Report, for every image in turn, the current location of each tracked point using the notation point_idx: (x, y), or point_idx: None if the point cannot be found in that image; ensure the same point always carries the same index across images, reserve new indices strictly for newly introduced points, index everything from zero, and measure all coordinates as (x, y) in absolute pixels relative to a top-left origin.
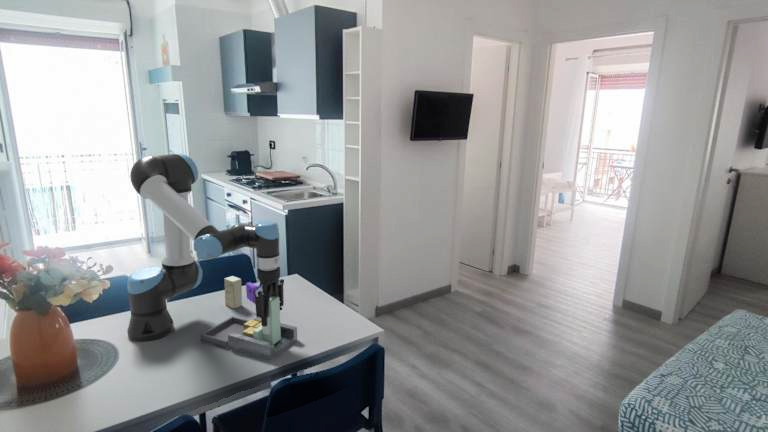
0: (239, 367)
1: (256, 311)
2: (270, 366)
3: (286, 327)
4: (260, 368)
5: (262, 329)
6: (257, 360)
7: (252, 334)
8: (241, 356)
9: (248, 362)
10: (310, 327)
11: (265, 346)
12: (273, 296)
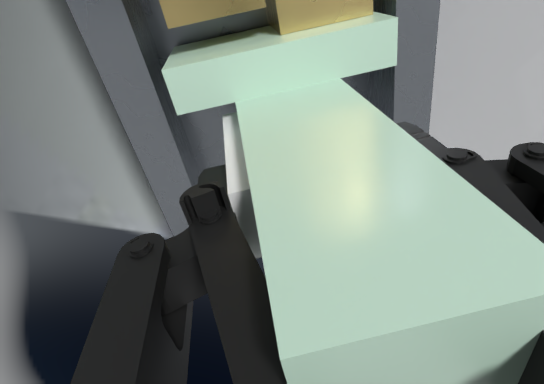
0: (20, 131)
1: (102, 313)
2: (153, 223)
3: None
4: (109, 207)
5: (236, 104)
6: (132, 147)
7: (176, 26)
8: (76, 41)
9: (83, 128)
10: (525, 97)
11: (163, 207)
12: (518, 377)
